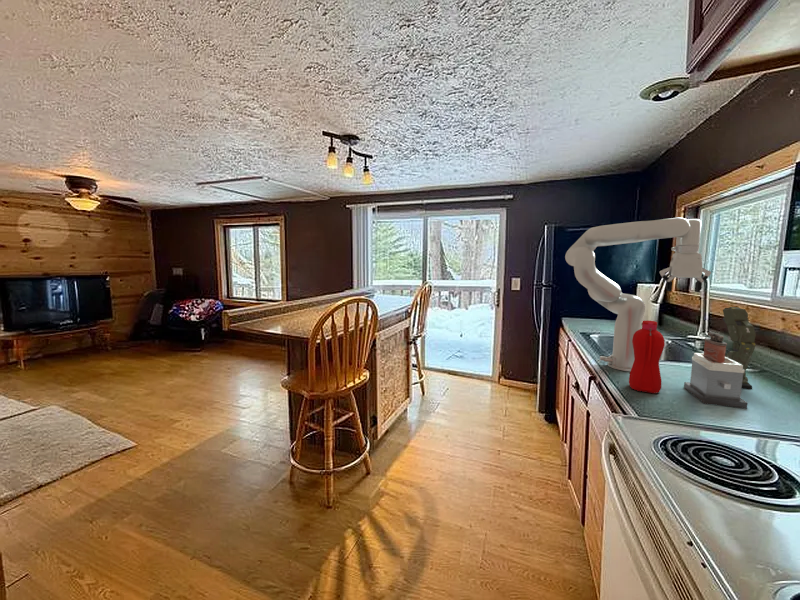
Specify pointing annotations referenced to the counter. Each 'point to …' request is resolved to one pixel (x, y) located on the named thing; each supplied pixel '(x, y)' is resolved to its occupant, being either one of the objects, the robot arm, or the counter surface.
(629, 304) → the robot arm
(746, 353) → the mechanical leg
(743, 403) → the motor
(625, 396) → the counter surface
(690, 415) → the counter surface
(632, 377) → the water bottle
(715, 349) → the lighter
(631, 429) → the counter surface
